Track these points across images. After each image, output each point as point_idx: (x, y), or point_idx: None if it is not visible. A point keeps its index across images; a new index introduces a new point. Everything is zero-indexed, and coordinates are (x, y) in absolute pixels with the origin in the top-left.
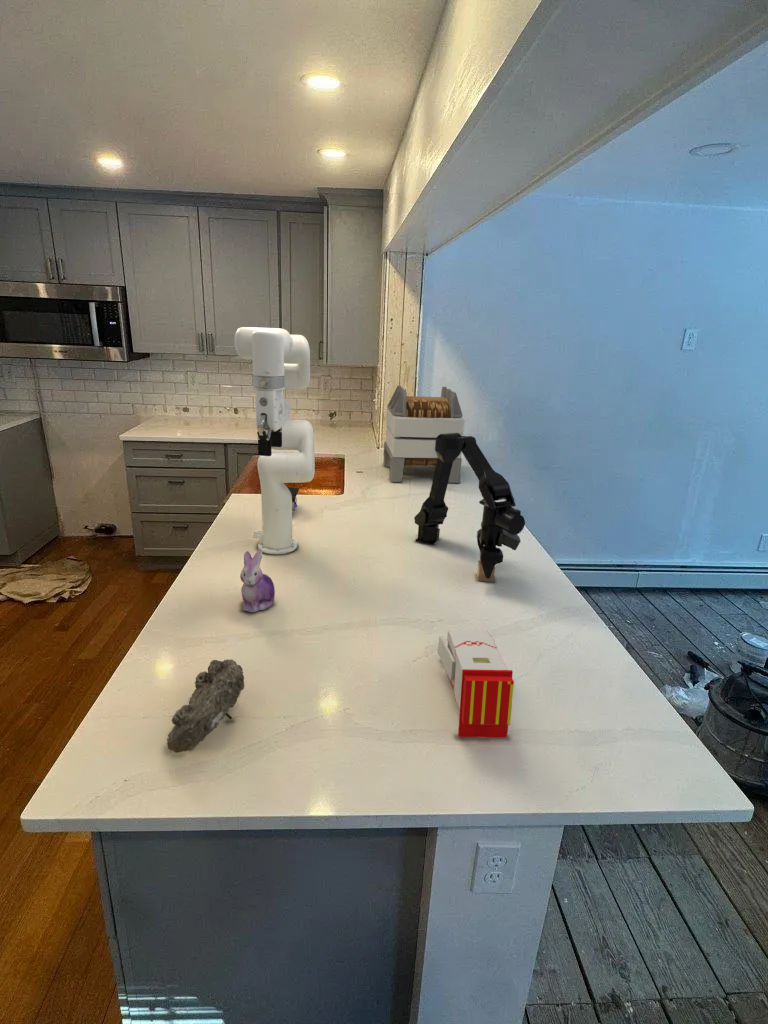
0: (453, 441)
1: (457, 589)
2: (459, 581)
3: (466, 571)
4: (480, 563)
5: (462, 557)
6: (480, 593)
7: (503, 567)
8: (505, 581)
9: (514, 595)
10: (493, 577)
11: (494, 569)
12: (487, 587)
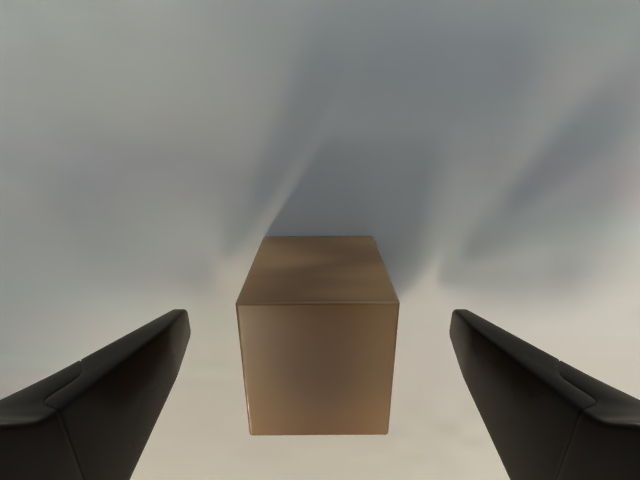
0: None
1: None
2: (388, 429)
3: (234, 392)
4: (318, 425)
5: None
6: (552, 330)
7: (52, 123)
8: (344, 135)
9: (607, 83)
10: (378, 255)
11: (393, 294)
12: (463, 283)
